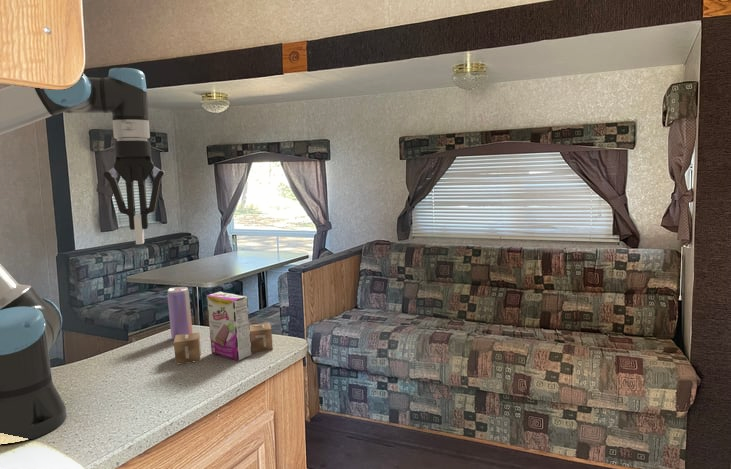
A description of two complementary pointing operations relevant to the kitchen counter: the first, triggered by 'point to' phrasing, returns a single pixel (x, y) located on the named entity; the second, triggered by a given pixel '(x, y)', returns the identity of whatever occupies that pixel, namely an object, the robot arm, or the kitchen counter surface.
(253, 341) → the walnut block seven
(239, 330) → the candy bar box
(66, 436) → the kitchen counter surface
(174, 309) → the beverage can
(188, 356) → the walnut block one
